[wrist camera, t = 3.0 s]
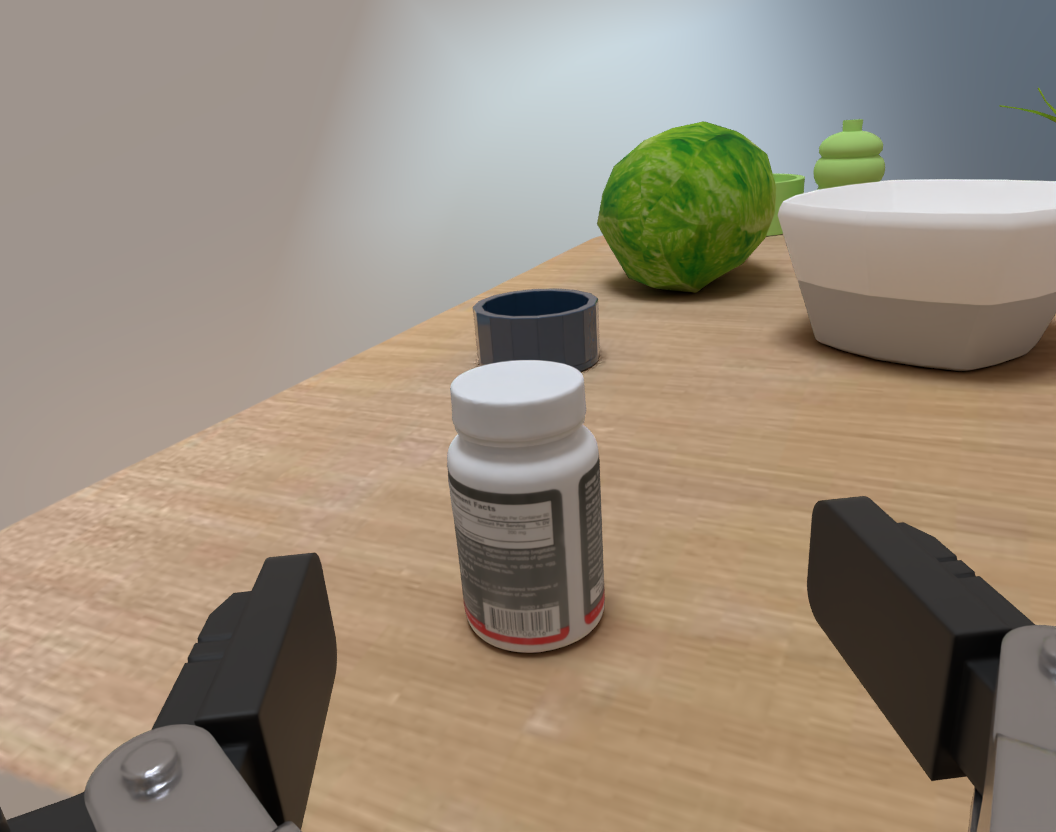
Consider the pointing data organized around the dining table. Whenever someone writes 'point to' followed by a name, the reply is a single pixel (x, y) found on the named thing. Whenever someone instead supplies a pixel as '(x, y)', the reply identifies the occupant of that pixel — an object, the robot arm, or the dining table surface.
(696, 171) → the lettuce
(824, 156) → the food container
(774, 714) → the dining table surface
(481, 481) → the pill bottle
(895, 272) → the bowl
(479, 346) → the bottle holder
